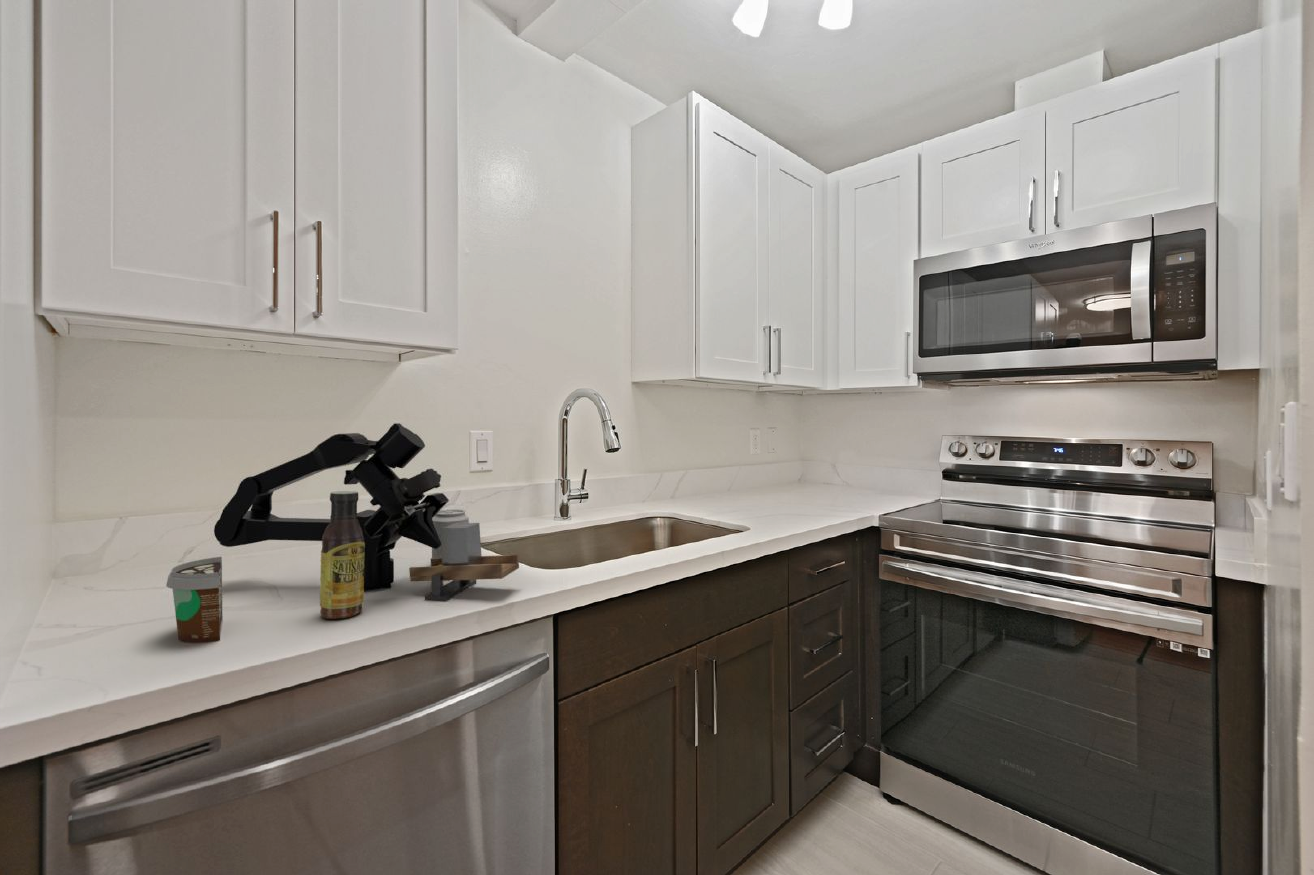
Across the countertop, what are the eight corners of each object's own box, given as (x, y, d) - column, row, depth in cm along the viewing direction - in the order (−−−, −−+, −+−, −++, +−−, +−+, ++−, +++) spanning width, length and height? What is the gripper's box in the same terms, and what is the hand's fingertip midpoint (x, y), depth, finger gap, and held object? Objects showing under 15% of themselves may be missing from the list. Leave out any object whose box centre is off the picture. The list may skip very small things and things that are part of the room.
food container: (172, 626, 88) (170, 561, 87) (223, 618, 91) (221, 555, 91) (162, 653, 78) (160, 580, 77) (219, 643, 81) (218, 573, 81)
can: (445, 572, 119) (444, 514, 119) (424, 566, 124) (424, 511, 123) (476, 565, 125) (475, 510, 125) (455, 560, 129) (455, 506, 129)
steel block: (443, 572, 104) (440, 528, 103) (457, 565, 108) (454, 523, 108) (468, 572, 103) (466, 527, 103) (482, 565, 108) (479, 522, 107)
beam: (409, 582, 103) (407, 567, 103) (433, 571, 111) (432, 556, 111) (501, 579, 100) (499, 563, 100) (519, 567, 108) (518, 552, 108)
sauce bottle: (333, 624, 89) (331, 495, 88) (311, 616, 92) (310, 492, 92) (373, 612, 95) (372, 491, 94) (351, 605, 98) (350, 488, 97)
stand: (424, 600, 101) (424, 575, 101) (457, 582, 112) (457, 560, 112) (445, 601, 100) (445, 577, 100) (476, 583, 111) (476, 561, 111)
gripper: (378, 459, 97) (439, 527, 96) (439, 452, 116) (491, 509, 114) (338, 504, 99) (397, 571, 98) (404, 490, 117) (454, 546, 116)
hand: (439, 547), depth 106 cm, fingers closed
